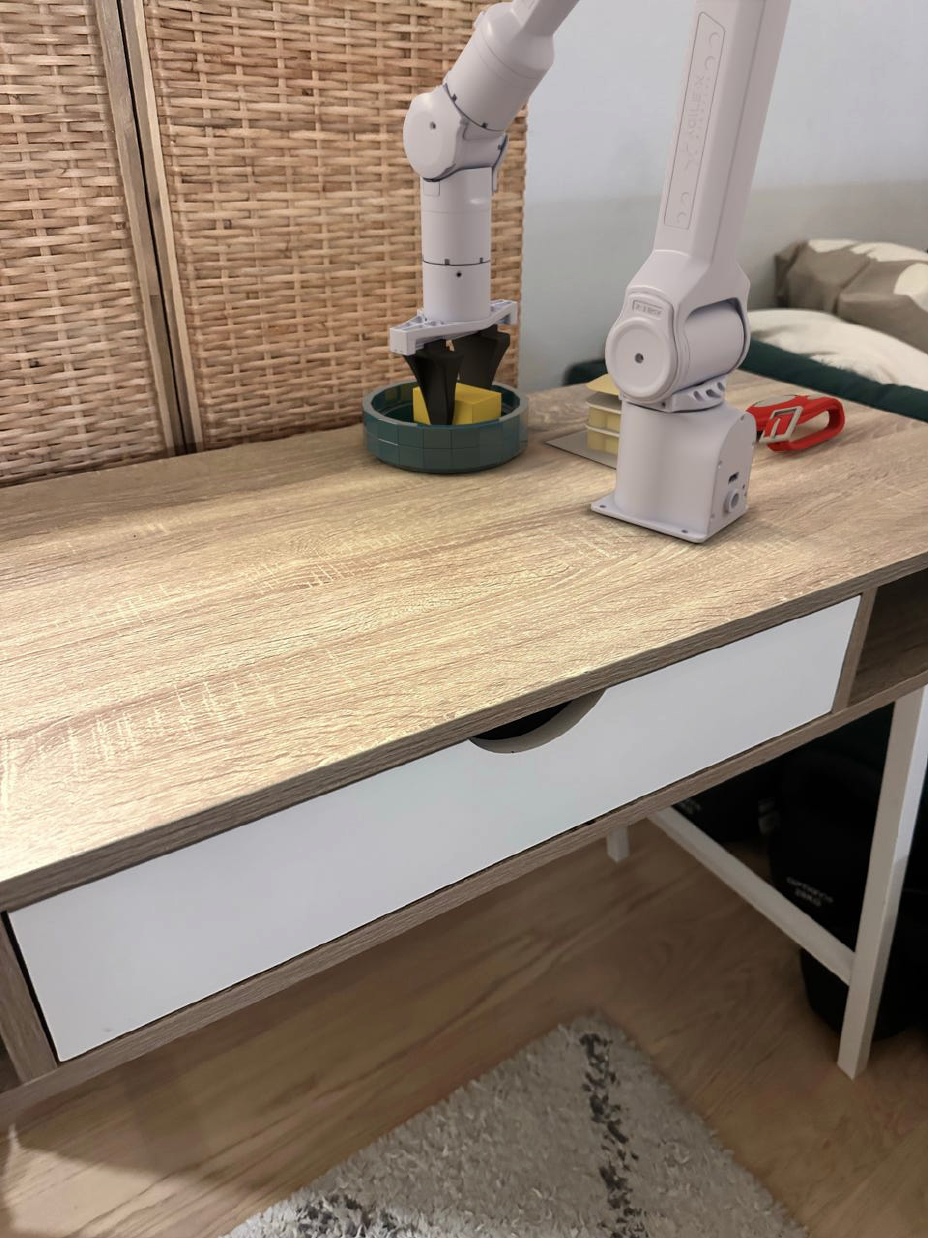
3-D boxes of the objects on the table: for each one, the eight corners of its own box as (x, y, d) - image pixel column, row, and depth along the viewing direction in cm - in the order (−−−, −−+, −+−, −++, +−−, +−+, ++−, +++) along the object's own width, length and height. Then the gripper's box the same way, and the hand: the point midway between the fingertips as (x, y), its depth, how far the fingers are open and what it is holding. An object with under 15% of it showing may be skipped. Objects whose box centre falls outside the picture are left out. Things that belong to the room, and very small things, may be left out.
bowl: (559, 442, 86) (561, 397, 83) (454, 490, 76) (454, 440, 74) (439, 410, 94) (439, 368, 92) (331, 449, 84) (327, 403, 82)
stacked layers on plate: (695, 449, 84) (703, 388, 81) (628, 473, 79) (634, 409, 76) (611, 421, 90) (616, 364, 88) (545, 442, 85) (547, 382, 83)
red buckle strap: (713, 408, 90) (812, 378, 90) (722, 452, 92) (819, 423, 92) (765, 419, 79) (878, 385, 79) (774, 470, 80) (885, 436, 80)
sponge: (500, 436, 85) (501, 392, 83) (472, 448, 82) (472, 403, 80) (442, 420, 89) (442, 378, 87) (413, 431, 86) (412, 388, 84)
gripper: (475, 243, 85) (475, 392, 92) (359, 266, 75) (368, 429, 82) (538, 252, 81) (533, 406, 88) (424, 277, 71) (428, 447, 78)
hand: (457, 419), depth 85 cm, fingers closed on sponge, 4 cm apart
